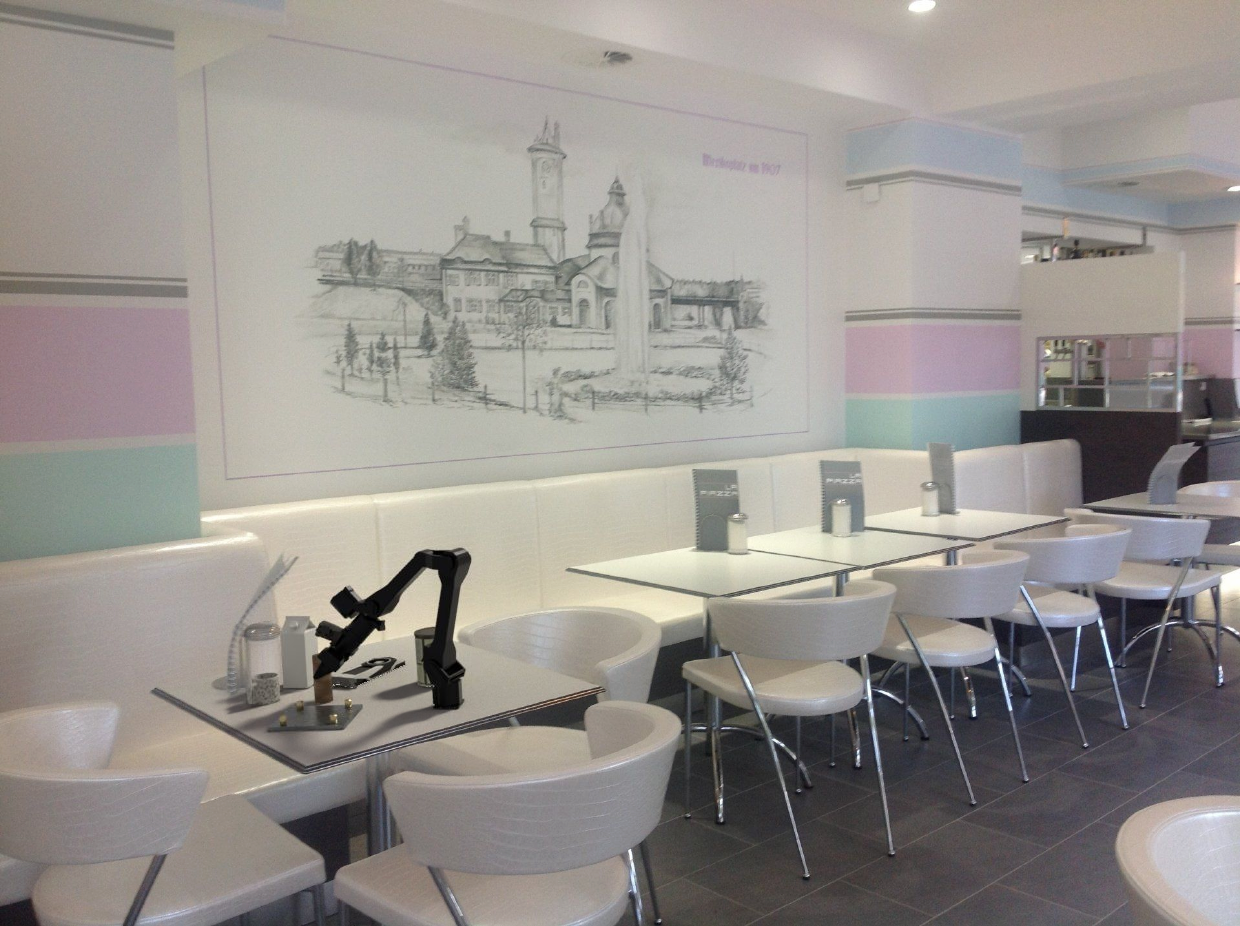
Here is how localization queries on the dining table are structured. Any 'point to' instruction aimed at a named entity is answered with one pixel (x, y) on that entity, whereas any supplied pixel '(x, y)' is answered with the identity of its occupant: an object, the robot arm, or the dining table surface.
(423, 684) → the coffee can
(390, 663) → the graphics card
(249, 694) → the mug
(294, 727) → the base plate
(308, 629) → the milk carton
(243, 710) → the dining table surface
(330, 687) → the walnut column
